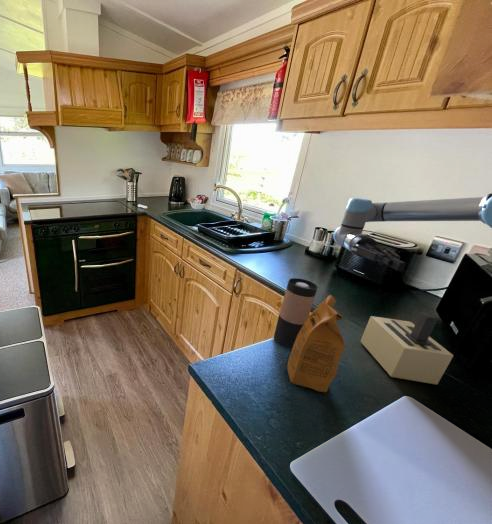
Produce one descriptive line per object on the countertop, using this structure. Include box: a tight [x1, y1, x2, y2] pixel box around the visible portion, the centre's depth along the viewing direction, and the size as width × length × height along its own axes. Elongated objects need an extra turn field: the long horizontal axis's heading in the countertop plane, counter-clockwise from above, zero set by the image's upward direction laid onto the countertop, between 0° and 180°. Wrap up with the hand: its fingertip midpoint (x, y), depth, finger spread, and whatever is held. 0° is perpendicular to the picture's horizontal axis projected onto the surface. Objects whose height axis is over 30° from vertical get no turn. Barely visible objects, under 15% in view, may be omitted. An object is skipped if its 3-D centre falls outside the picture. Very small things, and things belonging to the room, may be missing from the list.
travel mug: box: [273, 277, 319, 349], centre depth 86 cm, size 8×8×20 cm
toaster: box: [359, 315, 454, 385], centre depth 82 cm, size 16×11×10 cm
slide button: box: [405, 312, 439, 346], centre depth 75 cm, size 4×4×8 cm
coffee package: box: [286, 294, 346, 393], centre depth 72 cm, size 10×12×22 cm
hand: (401, 267), depth 86 cm, fingers closed
